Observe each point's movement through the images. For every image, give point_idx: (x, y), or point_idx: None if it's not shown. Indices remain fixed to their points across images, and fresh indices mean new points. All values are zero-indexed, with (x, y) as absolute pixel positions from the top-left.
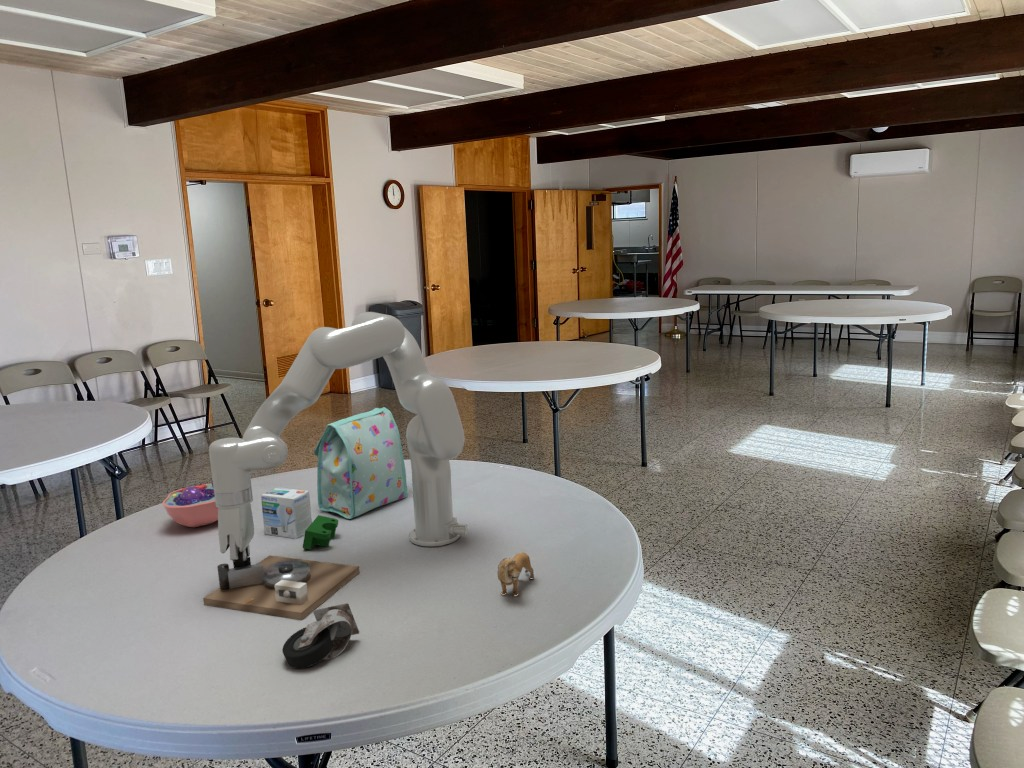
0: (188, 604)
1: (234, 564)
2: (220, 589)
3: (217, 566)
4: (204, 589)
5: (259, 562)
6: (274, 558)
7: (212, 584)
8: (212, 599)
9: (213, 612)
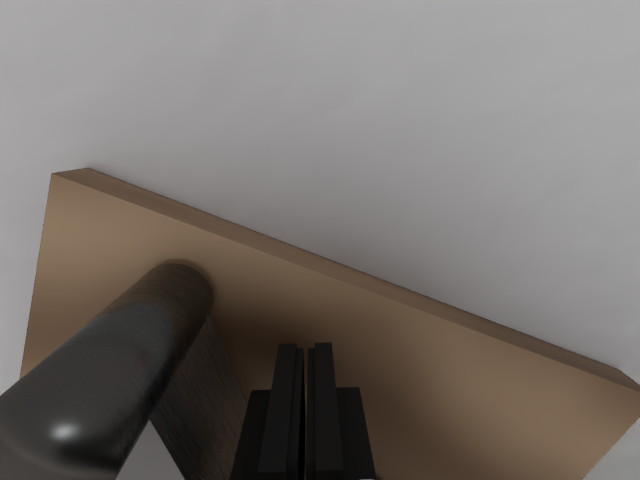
0: (83, 49)
1: (264, 443)
2: (146, 273)
3: (10, 400)
4: (313, 88)
5: (568, 371)
6: (594, 432)
7: (386, 121)
8: (40, 247)
9: (3, 258)
